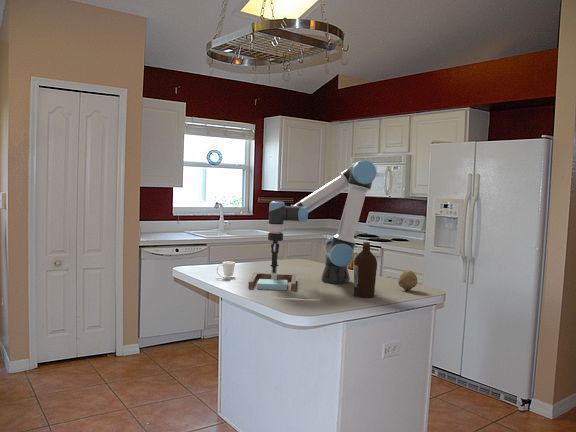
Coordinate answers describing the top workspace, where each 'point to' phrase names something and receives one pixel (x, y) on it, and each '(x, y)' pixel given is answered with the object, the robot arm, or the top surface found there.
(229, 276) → the cup
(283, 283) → the cover plate
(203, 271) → the top surface
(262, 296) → the top surface
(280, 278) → the walnut box
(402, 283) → the natural sponge
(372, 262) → the olive oil
